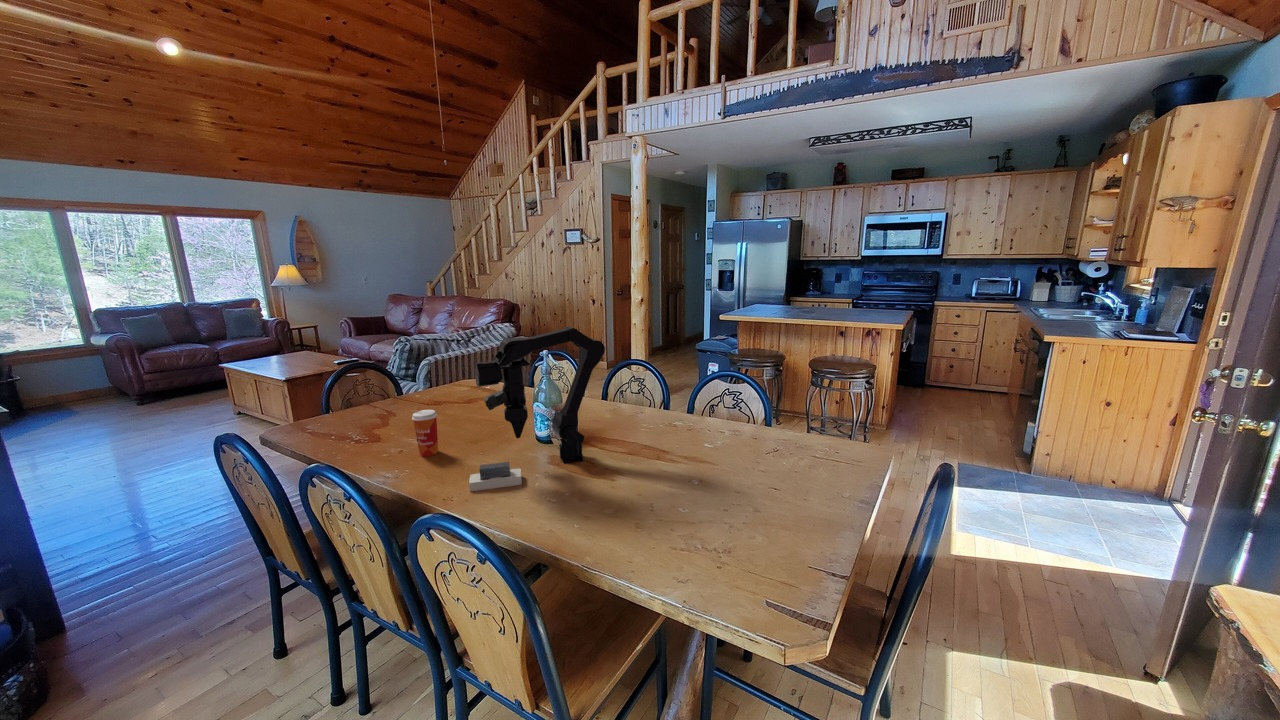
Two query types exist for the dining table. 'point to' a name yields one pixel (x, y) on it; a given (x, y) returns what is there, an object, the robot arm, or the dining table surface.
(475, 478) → the rail
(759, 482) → the dining table surface
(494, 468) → the dark grey blocky piece
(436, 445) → the paper cup
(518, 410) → the robot arm
